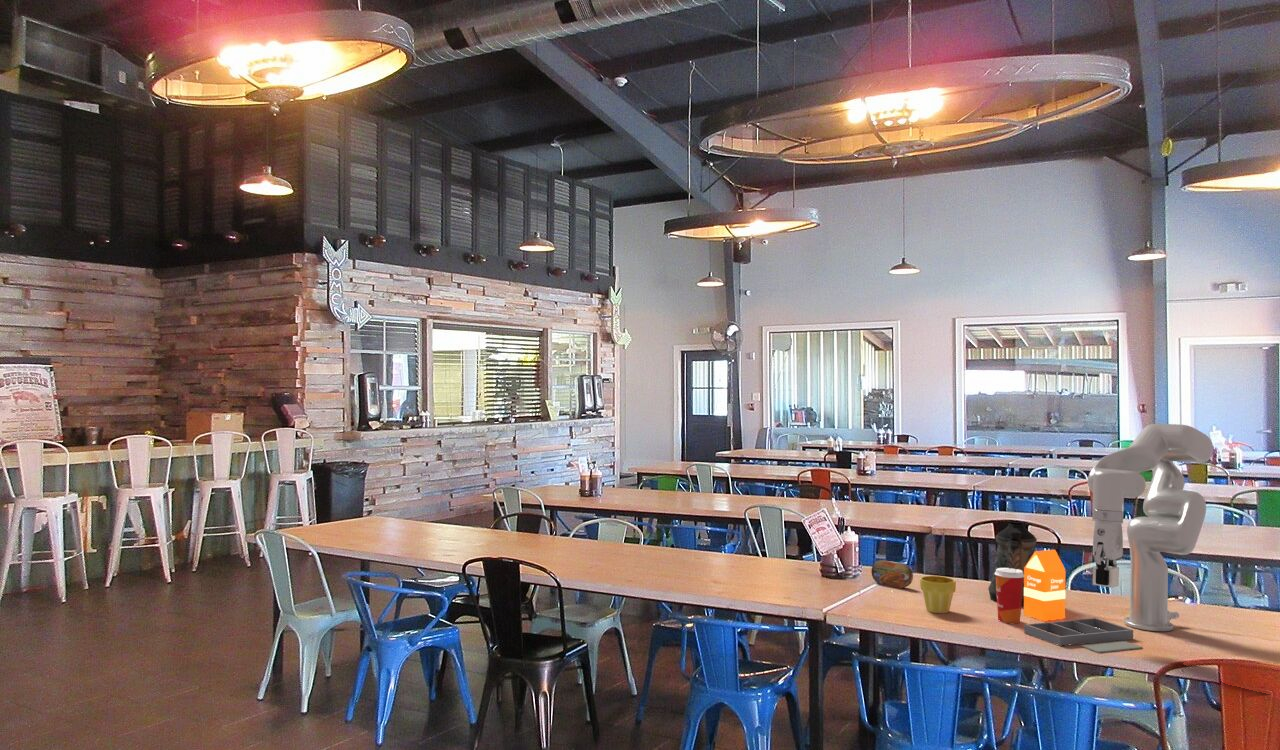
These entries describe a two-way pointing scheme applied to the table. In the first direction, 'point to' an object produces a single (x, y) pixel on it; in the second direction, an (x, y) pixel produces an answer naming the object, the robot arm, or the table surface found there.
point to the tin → (892, 573)
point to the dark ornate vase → (1012, 552)
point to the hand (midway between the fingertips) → (1105, 582)
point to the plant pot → (937, 593)
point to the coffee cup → (1009, 594)
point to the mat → (1111, 646)
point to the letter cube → (1112, 577)
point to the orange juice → (1044, 586)
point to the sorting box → (1073, 637)
